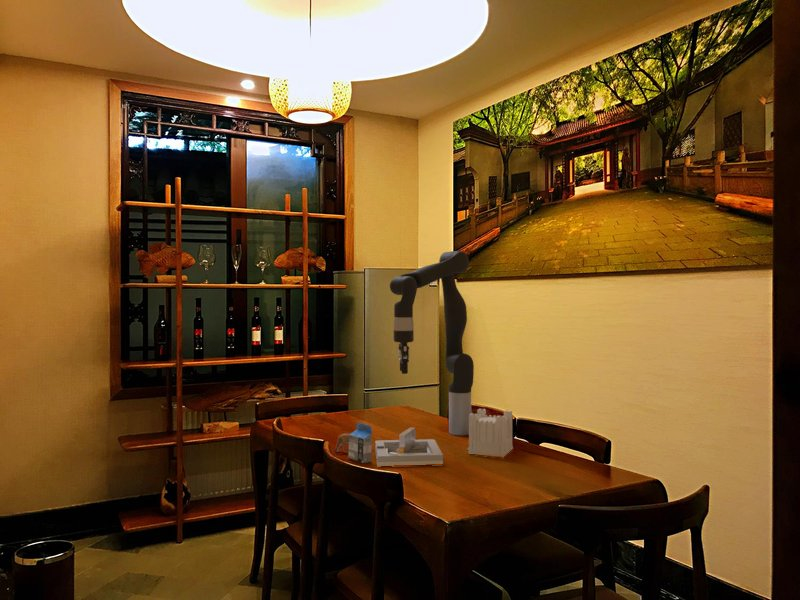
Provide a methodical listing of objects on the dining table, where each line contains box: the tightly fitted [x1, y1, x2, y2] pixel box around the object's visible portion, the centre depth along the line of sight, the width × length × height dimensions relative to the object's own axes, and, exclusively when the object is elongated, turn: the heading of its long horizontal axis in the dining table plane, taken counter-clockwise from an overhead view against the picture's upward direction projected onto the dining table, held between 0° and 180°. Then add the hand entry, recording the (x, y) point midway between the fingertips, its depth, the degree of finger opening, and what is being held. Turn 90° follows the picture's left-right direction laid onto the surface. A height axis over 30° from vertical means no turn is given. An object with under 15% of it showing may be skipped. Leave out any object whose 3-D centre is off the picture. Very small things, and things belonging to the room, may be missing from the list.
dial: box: [388, 427, 427, 454], centre depth 211 cm, size 14×14×8 cm
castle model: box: [467, 408, 514, 457], centre depth 218 cm, size 13×15×14 cm
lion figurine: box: [333, 427, 367, 454], centre depth 220 cm, size 15×5×9 cm, turn 122°
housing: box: [374, 438, 444, 468], centre depth 211 cm, size 22×22×4 cm
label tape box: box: [348, 421, 373, 464], centre depth 208 cm, size 9×4×12 cm, turn 40°
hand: (403, 372), depth 226 cm, fingers open, 8 cm apart
